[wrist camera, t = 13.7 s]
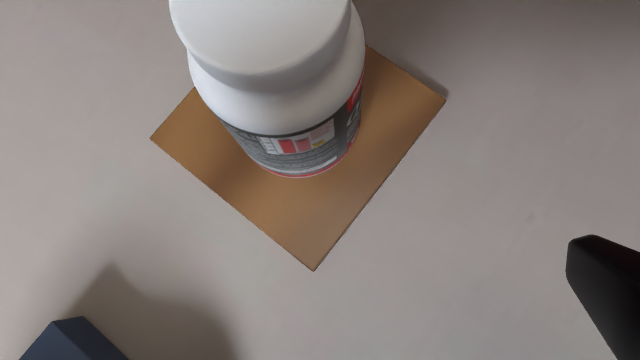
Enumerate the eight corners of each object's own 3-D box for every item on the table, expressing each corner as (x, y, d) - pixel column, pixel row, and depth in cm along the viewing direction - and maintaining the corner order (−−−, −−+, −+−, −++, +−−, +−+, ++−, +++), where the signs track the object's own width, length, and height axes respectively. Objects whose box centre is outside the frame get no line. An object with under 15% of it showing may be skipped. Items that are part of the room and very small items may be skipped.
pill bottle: (377, 158, 20) (404, 54, 11) (258, 197, 20) (176, 128, 11) (337, 48, 21) (329, -135, 12) (225, 85, 21) (124, -69, 12)
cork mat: (444, 103, 21) (447, 99, 21) (313, 272, 20) (313, 272, 19) (283, -8, 23) (281, -14, 22) (153, 141, 22) (148, 138, 21)
